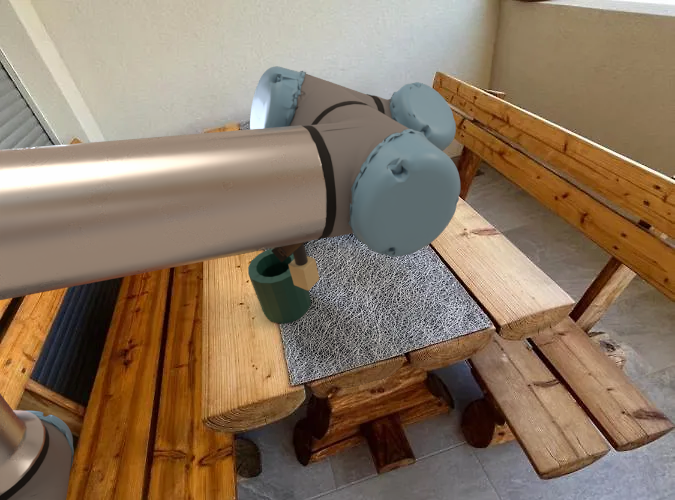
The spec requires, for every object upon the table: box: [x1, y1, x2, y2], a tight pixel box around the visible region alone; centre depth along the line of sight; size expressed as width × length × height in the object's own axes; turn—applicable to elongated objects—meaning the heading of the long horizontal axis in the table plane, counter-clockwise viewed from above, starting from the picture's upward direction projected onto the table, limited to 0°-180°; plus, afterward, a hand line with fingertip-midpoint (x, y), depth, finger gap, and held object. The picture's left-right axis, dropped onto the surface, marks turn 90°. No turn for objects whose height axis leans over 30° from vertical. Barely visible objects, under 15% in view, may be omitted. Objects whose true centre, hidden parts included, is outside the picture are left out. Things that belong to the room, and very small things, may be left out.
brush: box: [288, 243, 320, 292], centre depth 65 cm, size 3×3×16 cm
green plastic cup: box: [247, 248, 312, 324], centre depth 82 cm, size 11×11×12 cm
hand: (283, 250), depth 68 cm, fingers closed on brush, 2 cm apart
